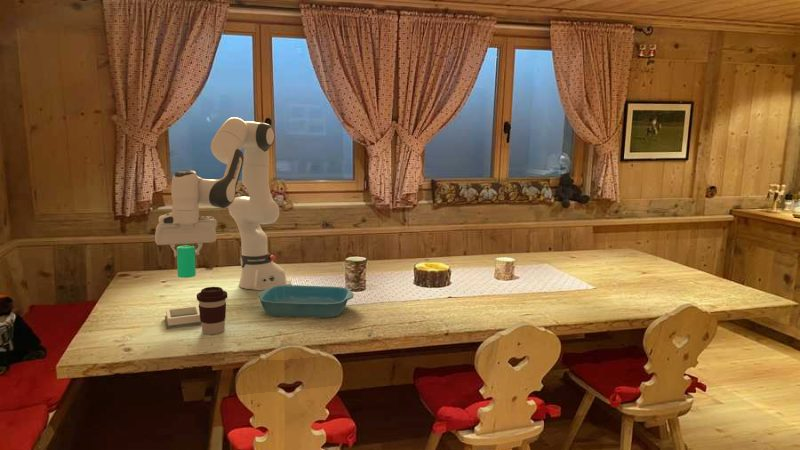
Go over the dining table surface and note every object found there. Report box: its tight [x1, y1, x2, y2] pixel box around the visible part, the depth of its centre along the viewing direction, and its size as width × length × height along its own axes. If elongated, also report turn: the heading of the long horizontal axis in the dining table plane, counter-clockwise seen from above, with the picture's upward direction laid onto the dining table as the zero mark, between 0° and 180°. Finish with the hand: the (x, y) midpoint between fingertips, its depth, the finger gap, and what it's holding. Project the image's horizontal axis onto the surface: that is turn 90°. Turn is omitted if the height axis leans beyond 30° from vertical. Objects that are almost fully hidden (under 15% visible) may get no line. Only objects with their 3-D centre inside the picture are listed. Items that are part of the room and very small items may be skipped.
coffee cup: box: [196, 286, 228, 335], centre depth 193 cm, size 10×10×15 cm
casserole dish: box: [257, 284, 354, 319], centre depth 218 cm, size 37×22×7 cm, turn 86°
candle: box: [176, 244, 197, 279], centre depth 200 cm, size 6×6×12 cm
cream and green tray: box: [164, 305, 202, 329], centre depth 204 cm, size 15×11×4 cm
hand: (186, 255), depth 200 cm, fingers closed on candle, 5 cm apart
